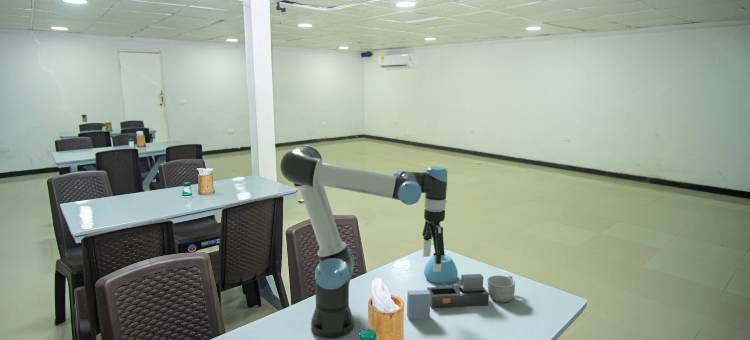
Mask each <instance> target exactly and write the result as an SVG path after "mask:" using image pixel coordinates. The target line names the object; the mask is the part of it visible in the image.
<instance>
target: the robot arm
mask: <svg viewBox="0 0 750 340" xmlns="http://www.w3.org/2000/svg"><path fill="white" fill-rule="evenodd" d="M322 158H323V157H322V154H321V153H320V151H319V150H318V149H317V148H316V147H314V146H311V145H308V144H304V145H298V146H296V147H294V148H293V149H291V150H289V151H288V152H286V153H285V154H284V155H283V156H282V159H281V161H280V166H279V167H280V171H281V174H282V176H283V177H284V179H285V180H287V181H288V182H291V183H292V184H293V186H294V187H295V188H297V189H299V190H300V193H301V197H302V200H303V202H304V204H305V205H304V206H305V208H306V209H305V210H307V214H308V217H309V220H310V223H311V227H312V229H313V231H314V236H315V239H316V241H317V245H318V247H319V249H318V251H317V257H318V260H319V263H318V264H317V265H316V267H315V272H314V282H315V283H314V284H315V286H314V287H315V289H314V290H315V308H314V310H313V315H312V317H311V321H310V329H311V332H312V333H313V334H315V335H316V336H318V337H320V338H324V339H336V338H338V339H339V338H341V337H345V336H346V334H347V335H349V332H350V331H351V330H352V331H353V329H354V325H355V323H354V321H355V320H354V316H353V314H352V311H351V307H350V303H349V302H350V298H349V297H350V291H349V289H350V282H351V279H352V275H353V272H354V269H355V264H356V263H355V257H354V254H353V253H352V251H351V250H350V249H349V247H348V244H347V243H346V242H344V241H343V240H342V239H341V236H340V233H339V229H338V227H337V223H336V220H335V218H334V217H335V216H334V214H333V211H332V208H331V204H330V201H329V197H328V195H327V193H326V189H325V187H329V188H335V189H340V190H345V191H351V192H356V193H362V194H367V195H372V196H377V197H382V198H388V199H392V200H398V201H400V202H401V203H403V204H404V205H408V206H412V205H415V204H417V203H418V202H419V201H420V199H421V197H422V194H425V195H424V196H425V197H424V211H423V212H424V214H423V219H424V220H425V221H424V226H423V229H422V230H423V231H422V237H423V249H422V251H423V252H422V256H423V257H426V258H427V257H431V252H432V251H431V248H432V241H433V248H434V253H433V255H434V263H433V272H441V262H442V255H446V254H445V245H444V244H445V242H444V227H443V226H441V225H440V223H441V222H444V221H445V219H446V217H445V216H446V210H445V209H446V204H447V202H448V200H447V191H448V190H447V188H448V170H447V169H446V168H445V167H443V166H428V167H427V168H426V170H425V171H424V172H418V171H404V170H402V171H395V172H393V175H390V174H384V173H379V172H376V171H375V172H374V171H370V170H365V169H364V170H363V169H359V168H353V167H348V166H342V165H337V164H332V163H327V162H323V159H322ZM433 255H432V256H433ZM352 331H351V332H352ZM351 332H350V333H351ZM344 335H345V336H344Z"/></svg>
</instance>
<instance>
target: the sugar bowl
mask: <svg viewBox="0 0 750 340" xmlns="http://www.w3.org/2000/svg"><path fill="white" fill-rule="evenodd" d="M433 263H434V255H432V256H430V257H429V259H428V260H427V262H426V264H425V266H424V271H423V274H424V276H425V278H426V279H427V280H428V281H429V282H431V283H434V284H438V285H448V284H451V283H454V281H456V280H457V278H458V275H459V274H458V268H457V266H456V263H455V262H454V260H453V259H452V257H451V256H449V255H447V254H445V255H442V262H441V272H433Z"/></svg>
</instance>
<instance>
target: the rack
mask: <svg viewBox="0 0 750 340" xmlns="http://www.w3.org/2000/svg"><path fill="white" fill-rule="evenodd" d="M460 280H461V281H460V285H456V286H454V285H452V286H434V287H431V286H429V287H427V288H426V290H429V292H430V293H431V297H430V310H431V309H446V308H447V309H448V308H467V307H483V306H489V299H490V295H489V293H488V290H487V289H486V288H485V287H484V276H483V275H482V274H481V273H471V274H469V273H468V274H461V279H460Z"/></svg>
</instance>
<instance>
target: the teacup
mask: <svg viewBox="0 0 750 340" xmlns="http://www.w3.org/2000/svg"><path fill="white" fill-rule="evenodd" d="M515 289H516V281H515V280H514V278H513V276H512V275H507V276H504V275H492V276H489V277H488V278H487V292H488V293H489V298H491V299H493V300H494V301H496V302H498V303H507V302H508V301H511V300H512V299H513V298H514V297H515V292H516V291H515Z"/></svg>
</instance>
